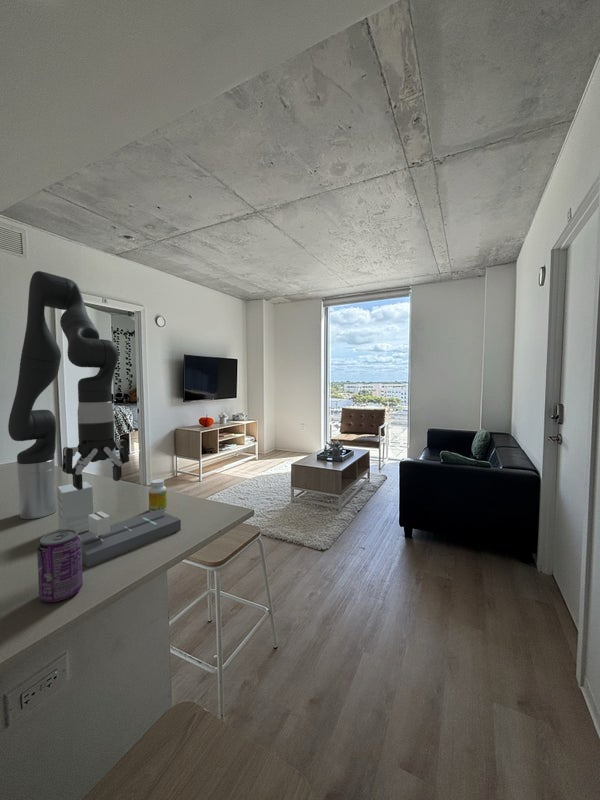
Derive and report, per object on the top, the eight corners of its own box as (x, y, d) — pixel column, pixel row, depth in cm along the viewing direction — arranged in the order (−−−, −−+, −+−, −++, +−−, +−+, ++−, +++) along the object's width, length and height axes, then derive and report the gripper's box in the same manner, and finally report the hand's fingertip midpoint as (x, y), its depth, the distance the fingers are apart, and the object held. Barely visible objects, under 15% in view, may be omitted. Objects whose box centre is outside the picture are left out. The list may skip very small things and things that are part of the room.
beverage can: (54, 583, 69) (52, 528, 69) (89, 582, 70) (88, 527, 69) (30, 606, 62) (27, 545, 62) (69, 604, 63) (67, 543, 62)
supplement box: (88, 521, 100) (86, 480, 99) (94, 529, 94) (93, 486, 94) (58, 529, 95) (56, 486, 94) (63, 538, 89) (61, 492, 89)
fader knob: (88, 536, 83) (88, 514, 83) (101, 531, 85) (101, 510, 85) (97, 542, 80) (96, 519, 80) (110, 537, 83) (109, 515, 82)
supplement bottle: (160, 513, 106) (159, 484, 105) (145, 512, 107) (144, 482, 106) (170, 507, 111) (169, 479, 111) (155, 505, 112) (155, 478, 112)
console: (68, 551, 83) (67, 539, 82) (158, 519, 102) (157, 509, 102) (87, 567, 75) (87, 554, 75) (180, 529, 95) (180, 519, 94)
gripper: (118, 416, 89) (120, 475, 90) (56, 421, 78) (59, 489, 79) (132, 418, 85) (134, 480, 86) (68, 424, 73) (71, 495, 74)
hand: (98, 484), depth 82 cm, fingers open, 8 cm apart
